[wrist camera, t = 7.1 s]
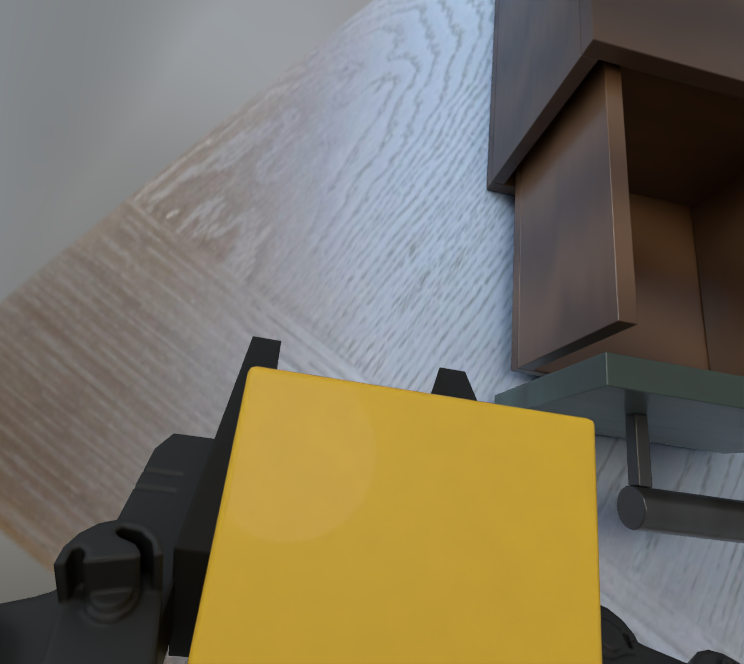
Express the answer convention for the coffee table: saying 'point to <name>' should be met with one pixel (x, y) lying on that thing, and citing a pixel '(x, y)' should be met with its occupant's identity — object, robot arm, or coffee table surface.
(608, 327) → the drawer
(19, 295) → the coffee table surface
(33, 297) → the coffee table surface
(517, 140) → the cabinet
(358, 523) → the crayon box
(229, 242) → the coffee table surface
